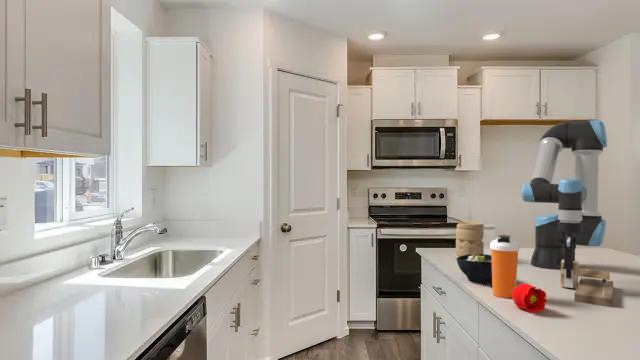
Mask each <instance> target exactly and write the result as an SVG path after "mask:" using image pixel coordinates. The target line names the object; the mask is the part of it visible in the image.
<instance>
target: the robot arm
mask: <svg viewBox="0 0 640 360" xmlns="http://www.w3.org/2000/svg"><path fill="white" fill-rule="evenodd" d="M606 131H607V130H606V127H605V124H604V122H603V121H602V120H582V121H570V122H569V121H568V122H567V121H565V122H560V123H557V124H555V125H553V126H552V127H550V128H549V129H547V130H546V131H545V132H544V134H543V135H542V136H541V137H540V139H539V142H538V149H539V151H538V155H537V158H536V162H535V165H534V169H533V171H532V175H531V179H530V182H528V183H524V184H522V187H521V192H520V193H521V199H522V200H523V202H527V203H533V204H534V203H537V204H538V203H542V204H543V203H547V204H551V203H552V204H558V209H557V211H558V212H557V213H556V214H543V215H539V216H537V217H536V218H535V225H534V228H535V229H534V230H535V233H534V234H535V235H534V236H535V238H534V239H535V240H534V241H535V244H534V245H535V246H534V247H535V248H534V251H533V252H532V255H531V259H530V265H532V266H534V267H538V268H542V269H543V268H544V269H550V270H551V269H553V270H561V261H562V260H564V267H562V269H565V270H564V287H563V288H567V287H570V288H571V289H574V288H573V261H576V248H577V246H586V247H600V246H601V245H602V244H603V242H604V237H605V233H606V227H607V221H606V220H605V219H604V218H603V215H602V214H601V213H600V212H599V211H598V210H599V209H598V208H599V158H600V155H601V154H602V153H604V149H605V148H607V147H608V138H607V137H608V136H607V133H606ZM563 149H571V150H570V151H571V154H572V155H574V156H575V157H574V159H575V160H574V179H573V178H572V179H571V178H564V179H563V178H562V179H560V180H558V183H553V182H552V181H553V179H554V174H555V169H556V167H557V162H558V158H559V155H560V153H562V151H563ZM570 288H569V289H570Z"/></svg>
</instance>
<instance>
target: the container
mask: <svg viewBox="0 0 640 360" xmlns="http://www.w3.org/2000/svg"><path fill="white" fill-rule="evenodd" d="M484 225H485V224H484V222H477V221H459V222H458V223H457V224H456V230H455V260H456V261H457V258H458V257H460V256H463V255H468V254H484V250H485V249H484V247H485V246H484V244H485V243H484V241H482V240H483V239H484V234H485V233H484V232H485V231H484V227H485V226H484Z"/></svg>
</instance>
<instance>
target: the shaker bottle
mask: <svg viewBox="0 0 640 360" xmlns="http://www.w3.org/2000/svg"><path fill="white" fill-rule="evenodd" d="M511 236H512V235H506V234H499V235H498V236H497V237H496V239H494V240H493V239H492V241H491V242H490V246H489V247H490V248H489V249H490V255H491V258H492V259H491V262H492V282H491V283H492V285H491V286H492V295H493V296H494V297H497V298H502V299H513V297H512V291H513V289H515V288H516V287H517V277H518V275H517V274H518V261H519V259H518V258H519V251H520V244H519V243H518V242H517V241H515V240H512V238H511Z"/></svg>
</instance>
